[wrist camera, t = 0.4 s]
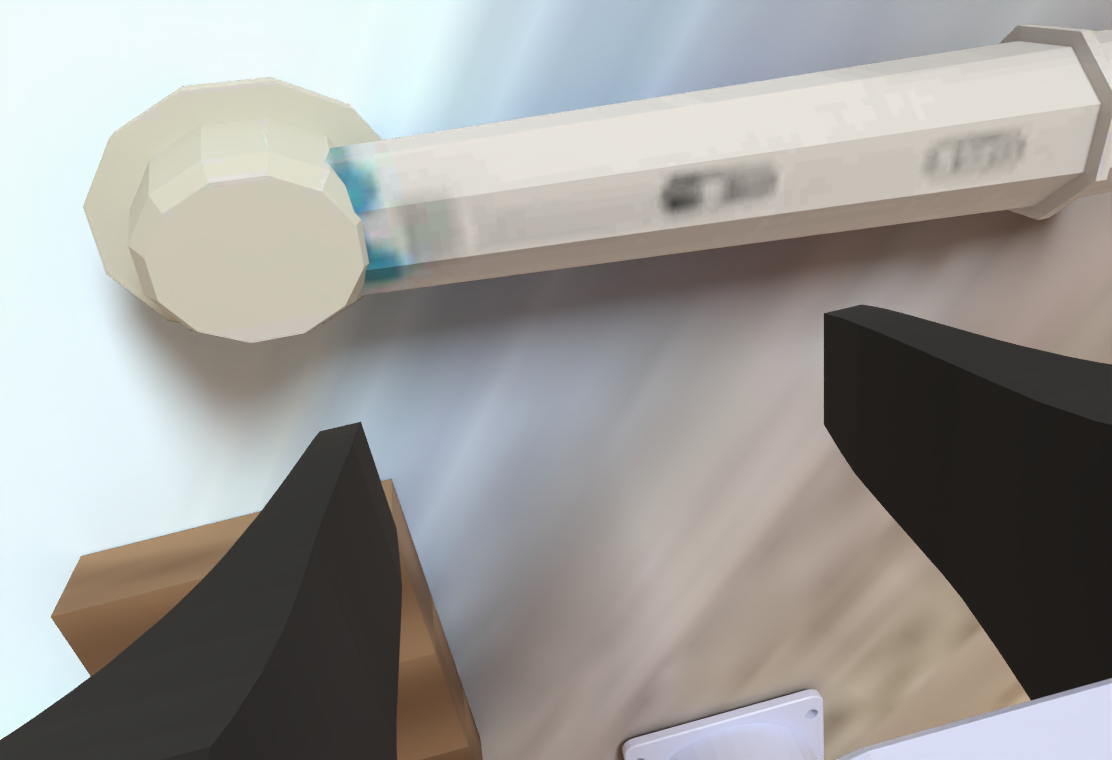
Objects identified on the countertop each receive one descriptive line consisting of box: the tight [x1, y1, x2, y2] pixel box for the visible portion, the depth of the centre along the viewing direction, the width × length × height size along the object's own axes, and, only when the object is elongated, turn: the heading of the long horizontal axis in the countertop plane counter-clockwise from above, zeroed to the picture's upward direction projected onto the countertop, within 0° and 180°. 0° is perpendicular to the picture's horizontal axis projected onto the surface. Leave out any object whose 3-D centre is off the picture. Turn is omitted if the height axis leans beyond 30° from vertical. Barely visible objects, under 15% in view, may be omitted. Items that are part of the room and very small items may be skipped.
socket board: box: [51, 479, 483, 760], centre depth 25 cm, size 12×9×2 cm
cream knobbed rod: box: [83, 24, 1112, 343], centre depth 19 cm, size 5×7×25 cm
